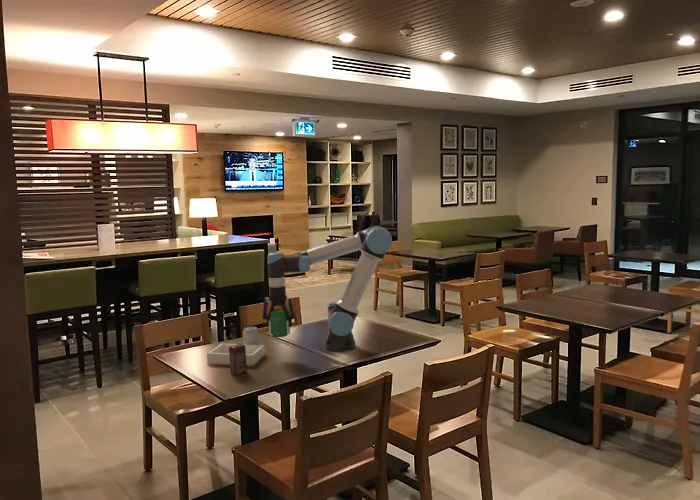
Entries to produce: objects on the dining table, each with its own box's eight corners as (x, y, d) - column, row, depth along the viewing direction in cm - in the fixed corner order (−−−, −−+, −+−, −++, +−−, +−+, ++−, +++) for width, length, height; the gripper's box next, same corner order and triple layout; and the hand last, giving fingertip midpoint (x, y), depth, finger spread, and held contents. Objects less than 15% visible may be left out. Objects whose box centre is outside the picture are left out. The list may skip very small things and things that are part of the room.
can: (255, 354, 271) (255, 330, 269) (241, 353, 272) (240, 329, 271) (261, 349, 278) (260, 326, 277) (247, 349, 280) (246, 325, 278)
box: (240, 369, 249) (239, 343, 247) (247, 371, 246) (246, 344, 244) (229, 373, 244) (228, 346, 243) (236, 375, 241) (234, 348, 240)
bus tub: (265, 355, 269) (264, 345, 268) (252, 366, 253) (252, 355, 253) (222, 353, 273) (221, 343, 273) (207, 363, 258) (207, 353, 257)
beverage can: (291, 333, 266) (290, 308, 265) (282, 338, 259) (281, 312, 258) (277, 332, 270) (275, 307, 268) (268, 336, 262) (266, 311, 261)
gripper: (301, 284, 263) (303, 331, 266) (258, 284, 267) (261, 331, 270) (296, 287, 256) (299, 336, 259) (253, 287, 260) (256, 335, 263)
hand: (280, 333), depth 264 cm, fingers closed on beverage can, 8 cm apart
